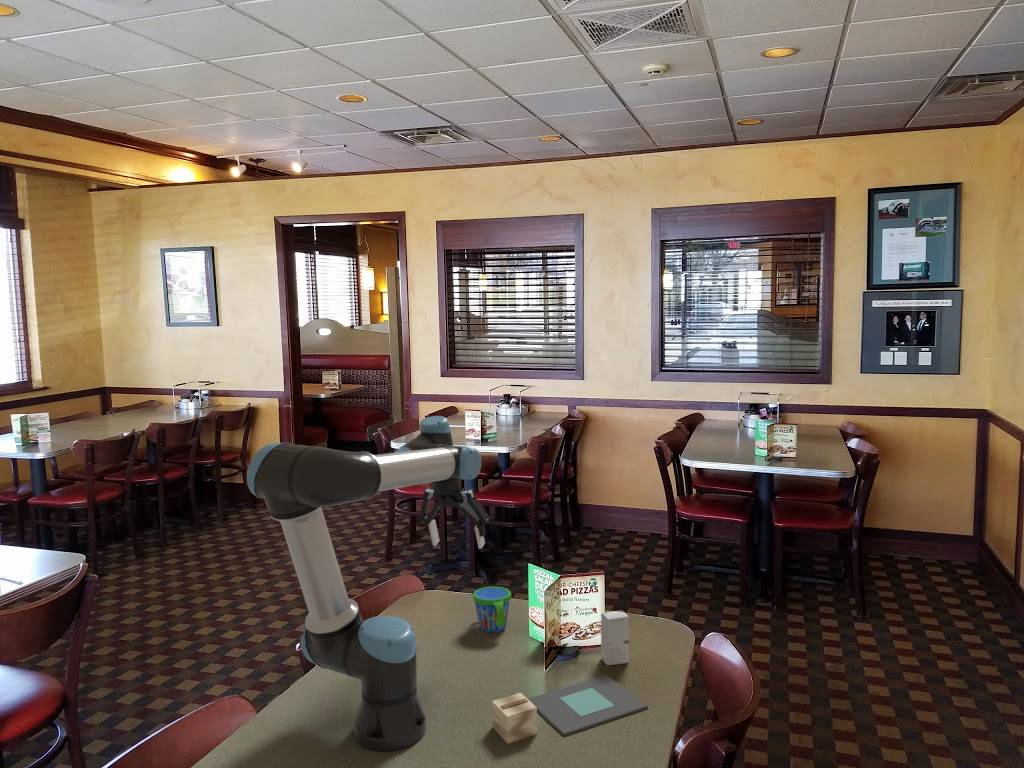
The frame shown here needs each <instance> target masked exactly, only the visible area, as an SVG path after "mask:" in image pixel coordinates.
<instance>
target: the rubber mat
mask: <svg viewBox="0 0 1024 768" xmlns="http://www.w3.org/2000/svg"><path fill="white" fill-rule="evenodd" d="M527 699H528V700H529V701H530V702H531V703H532V704H534V705H535V706H536V707H537V713H538V714H540V715H541V716H542V717H543V718H544V719H545V720H546V721H548V722H549V724H551V725H552V726H553V727H554V728H555V729H556V730H557V731H558V733H560V734H562V735H563V737H565V736H568V735H571V734H575V733H578V732H581V731H583V730H587V729H590V728H592V727H595V726H598V725H601V724H604V723H608V722H610V721H613V720H616V719H620V718H623V717H626V716H628V715H631V714H634V713H637V712H641V711H643V710H646V709H648V708H649V705H648V704H647V703H645V702H644V701H643V700H641V699H640V698H638V697H637V696H636V695H635V694H633V693H631V692H630V691H629V690H627V689H626V688H624V687H623V686H622V685H620V683H618V682H617V681H616V680H614V679H613V678H611V677H610V676H608V675H607V674H605V675H601V676H598V677H595V678H592V679H588V680H585V681H582V682H578V683H575V684H572V685H568V686H565V687H561V688H559V689H555V690H554V689H553V690H552V691H548V692H545V693H542V694H538V695H534V696H531V697H528V698H527Z"/></svg>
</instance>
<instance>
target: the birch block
mask: <svg viewBox="0 0 1024 768" xmlns="http://www.w3.org/2000/svg"><path fill="white" fill-rule="evenodd" d="M491 714H492V715H491V716H492V718H491V719H492V721H491V723H492V724H491V725H492V728H493V730H494V731H495V732H496V733H497V734H498V735H499V736H500V737H501V738H502V739H503V741H505V743H506V744H511V743H515V742H517V741H520V740H523V739H527V738H531V737H533V736H536V735H538V711H537V707H536V706H535V705H534V704H532V703H531V702H530V701H529V700H528V698H527V697H526V696H525V695H524V694H523V693H522V692H518V693H515V694H512V695H509V696H505V697H501V698H498V699H495V700H492V701H491ZM514 741H515V742H514Z"/></svg>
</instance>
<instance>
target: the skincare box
mask: <svg viewBox="0 0 1024 768" xmlns="http://www.w3.org/2000/svg"><path fill="white" fill-rule="evenodd" d="M600 615H601V619H600V620H601V623H600V631H601V632H600V643H601V644H600V658H601V660H602V661H603V662H604V664H605V666H614V665H621V664H623V665H624V664H628V663H629V661H630V660H629V657H630V656H629V655H630V652H629V651H630V641H629V639H630V617H629V615H628V614H627V613H626V612H625V611H624V610H615V611H613V610H612V611H607V612H601V613H600Z"/></svg>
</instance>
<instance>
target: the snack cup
mask: <svg viewBox="0 0 1024 768" xmlns="http://www.w3.org/2000/svg"><path fill="white" fill-rule="evenodd" d="M472 598H473V601H474V604H475V609H476V616H477V621H478V625H479V628H480V629H481V630H482V631H483V632H484V633H499V632H502V631H503V630H505V629H506V628H507V623H508V618H509V617H508V616H509V608H510V602H511V601H510V600H511V598H512V593H511V591H510V590H509V589H508V588H505V587H502V586H485V587H481V588H478V589H476V590H475V591H474V592H473V594H472ZM501 630H502V631H501Z"/></svg>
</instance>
